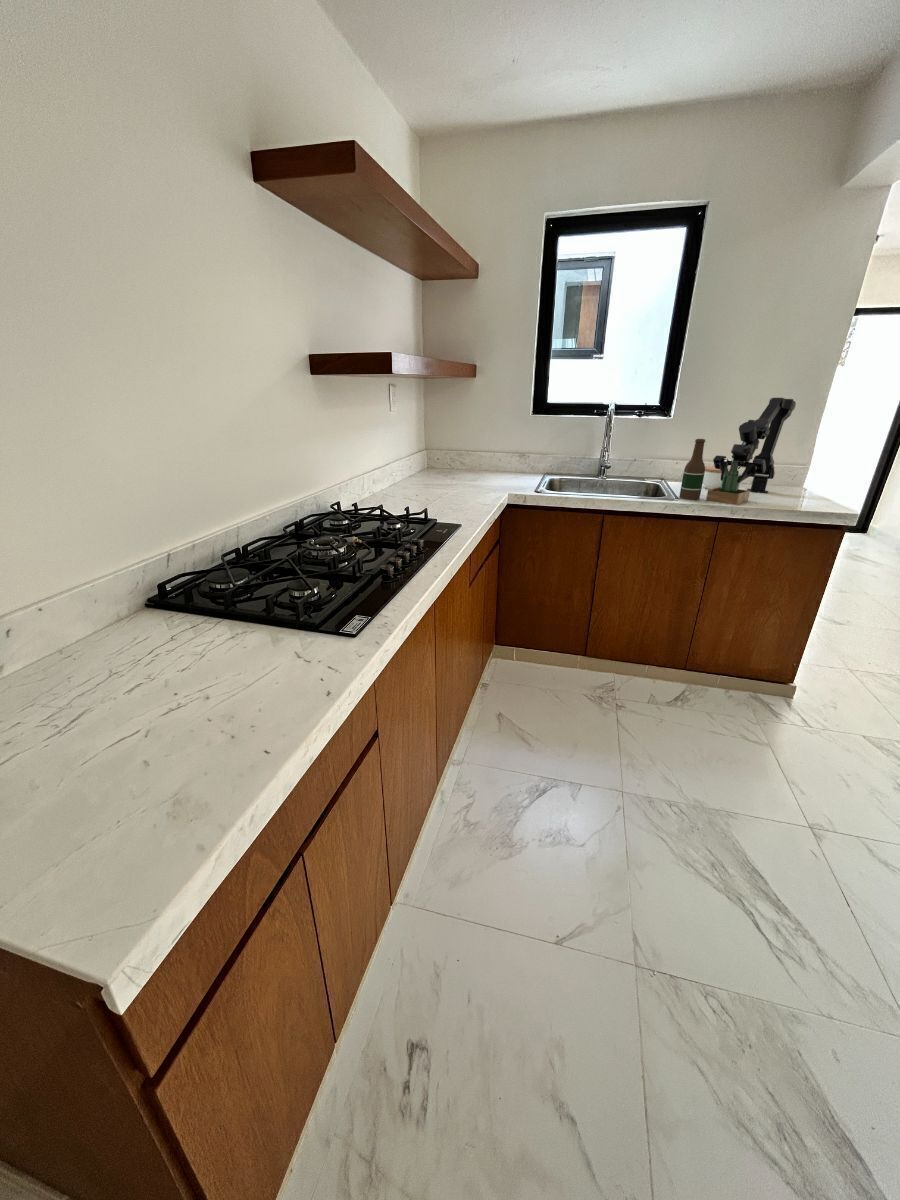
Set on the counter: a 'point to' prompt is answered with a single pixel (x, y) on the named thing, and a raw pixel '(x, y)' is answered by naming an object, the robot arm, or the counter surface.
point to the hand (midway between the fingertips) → (729, 481)
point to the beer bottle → (694, 474)
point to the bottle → (731, 479)
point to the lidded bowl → (712, 477)
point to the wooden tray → (727, 496)
